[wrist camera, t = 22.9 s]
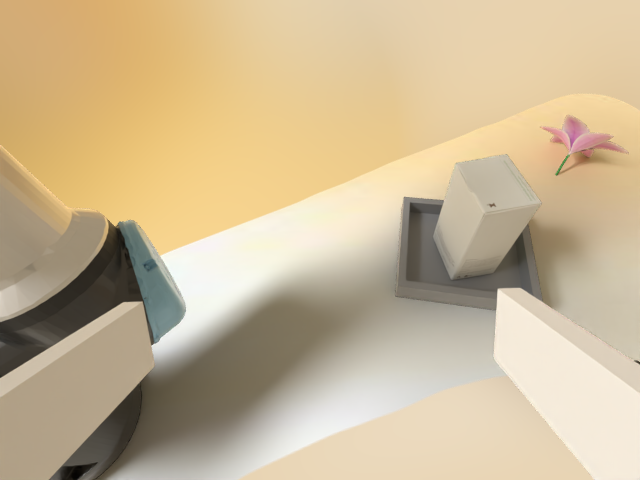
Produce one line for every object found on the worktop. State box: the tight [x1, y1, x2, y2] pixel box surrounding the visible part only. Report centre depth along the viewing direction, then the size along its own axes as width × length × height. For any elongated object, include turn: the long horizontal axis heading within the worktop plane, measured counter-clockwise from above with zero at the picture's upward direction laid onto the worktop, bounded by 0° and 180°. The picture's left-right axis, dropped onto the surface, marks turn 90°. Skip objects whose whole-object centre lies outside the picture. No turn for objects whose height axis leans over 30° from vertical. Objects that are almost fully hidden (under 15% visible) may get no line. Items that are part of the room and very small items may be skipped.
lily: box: [540, 115, 629, 175], centre depth 54 cm, size 12×12×10 cm
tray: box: [395, 197, 543, 310], centre depth 47 cm, size 18×16×4 cm
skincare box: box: [433, 154, 542, 280], centre depth 41 cm, size 8×7×16 cm
